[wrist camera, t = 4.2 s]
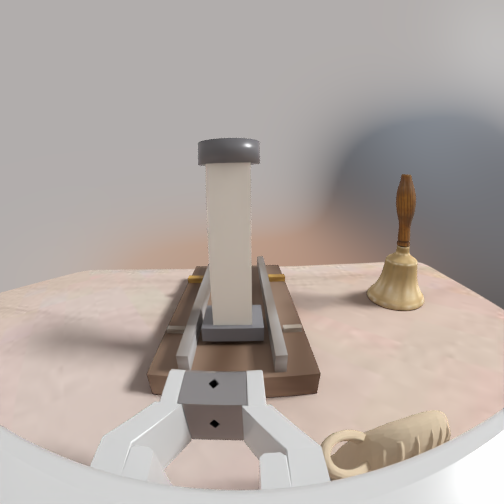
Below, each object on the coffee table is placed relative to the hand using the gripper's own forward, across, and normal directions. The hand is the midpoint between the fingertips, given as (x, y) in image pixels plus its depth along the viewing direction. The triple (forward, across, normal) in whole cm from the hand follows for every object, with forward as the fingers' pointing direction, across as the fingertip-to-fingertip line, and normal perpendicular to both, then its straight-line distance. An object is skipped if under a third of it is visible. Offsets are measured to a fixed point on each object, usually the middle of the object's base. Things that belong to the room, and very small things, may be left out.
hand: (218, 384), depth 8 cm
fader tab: (+13, 0, +6) cm, 14 cm away
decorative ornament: (-1, -8, +8) cm, 12 cm away
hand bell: (+22, -21, +8) cm, 32 cm away
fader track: (+19, 0, +8) cm, 21 cm away
